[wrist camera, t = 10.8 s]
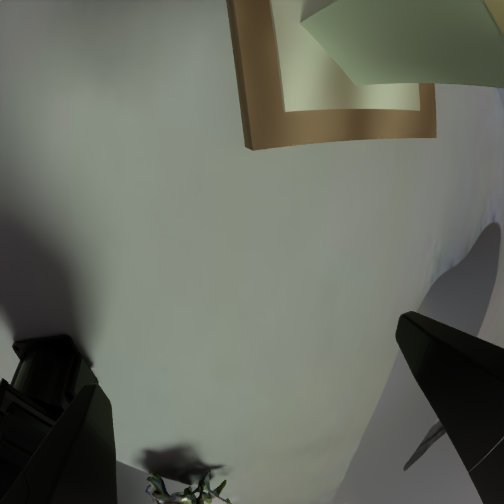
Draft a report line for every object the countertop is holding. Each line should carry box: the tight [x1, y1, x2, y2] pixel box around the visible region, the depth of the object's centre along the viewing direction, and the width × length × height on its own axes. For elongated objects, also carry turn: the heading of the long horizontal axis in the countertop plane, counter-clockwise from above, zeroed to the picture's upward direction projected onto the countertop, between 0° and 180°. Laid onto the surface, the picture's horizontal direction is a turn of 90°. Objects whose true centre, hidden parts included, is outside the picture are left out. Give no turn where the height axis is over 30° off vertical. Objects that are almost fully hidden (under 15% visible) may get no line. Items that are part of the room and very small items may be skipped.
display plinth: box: [226, 0, 436, 151], centre depth 15 cm, size 14×14×2 cm
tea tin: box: [300, 0, 504, 88], centre depth 9 cm, size 5×5×12 cm
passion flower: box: [146, 469, 231, 504], centre depth 30 cm, size 11×11×12 cm
